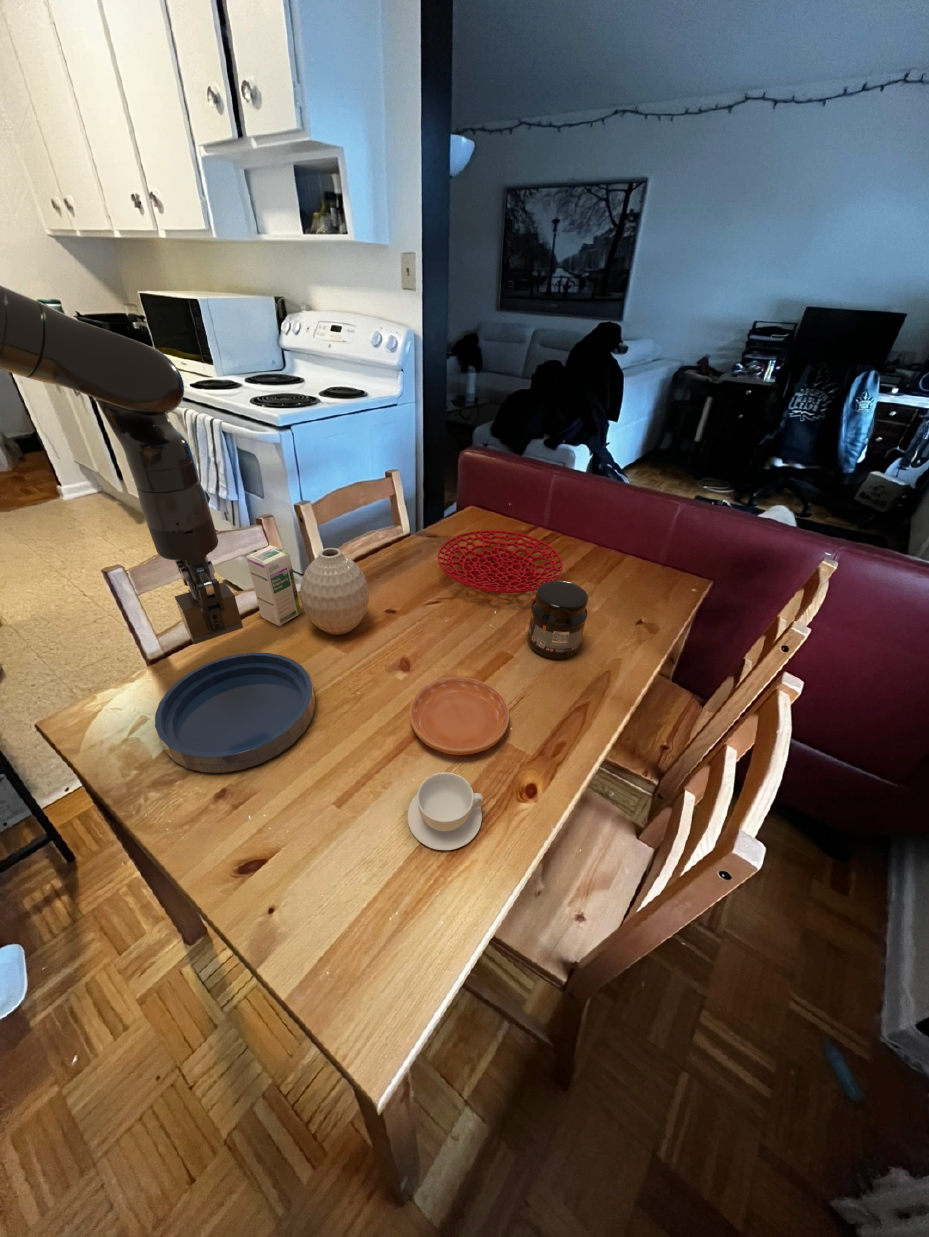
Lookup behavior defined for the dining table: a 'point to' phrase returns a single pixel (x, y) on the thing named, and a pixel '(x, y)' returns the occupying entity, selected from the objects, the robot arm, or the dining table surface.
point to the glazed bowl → (235, 712)
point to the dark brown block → (196, 619)
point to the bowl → (499, 563)
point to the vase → (334, 592)
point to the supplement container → (557, 619)
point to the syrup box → (274, 584)
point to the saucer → (459, 715)
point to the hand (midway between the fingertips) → (212, 621)
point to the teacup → (445, 812)
